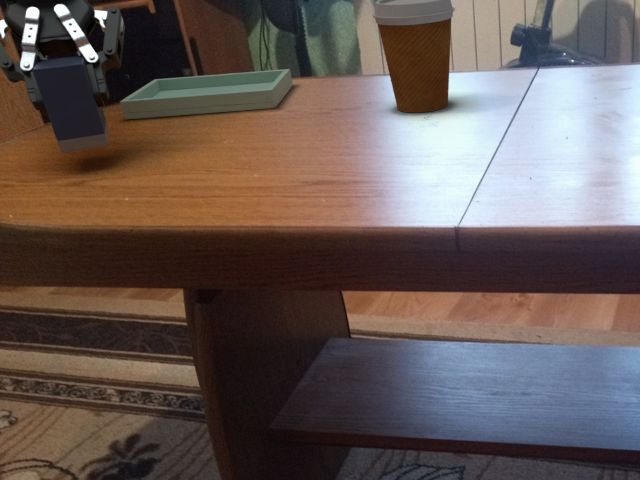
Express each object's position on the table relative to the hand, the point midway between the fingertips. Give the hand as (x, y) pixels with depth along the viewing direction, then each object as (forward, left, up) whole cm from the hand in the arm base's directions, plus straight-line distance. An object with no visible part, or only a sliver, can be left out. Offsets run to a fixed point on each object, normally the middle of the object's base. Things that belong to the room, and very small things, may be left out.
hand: (71, 105), depth 73 cm
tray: (+5, +28, -7) cm, 29 cm away
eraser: (-1, +2, -4) cm, 4 cm away
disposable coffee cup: (+34, +16, -7) cm, 39 cm away
